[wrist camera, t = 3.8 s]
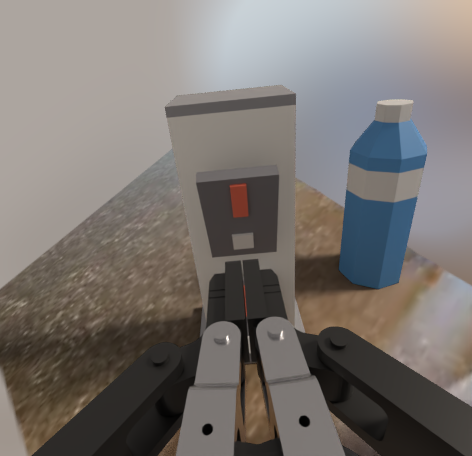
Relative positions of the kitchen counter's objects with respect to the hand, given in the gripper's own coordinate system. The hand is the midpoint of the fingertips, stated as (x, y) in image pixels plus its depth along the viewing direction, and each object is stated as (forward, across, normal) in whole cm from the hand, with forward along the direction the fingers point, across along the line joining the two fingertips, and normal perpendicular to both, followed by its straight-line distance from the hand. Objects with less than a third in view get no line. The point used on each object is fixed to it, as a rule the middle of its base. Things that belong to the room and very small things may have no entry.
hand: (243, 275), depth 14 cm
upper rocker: (+13, 0, -8) cm, 15 cm away
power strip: (+18, 0, -23) cm, 29 cm away
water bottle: (+28, +20, -23) cm, 41 cm away
